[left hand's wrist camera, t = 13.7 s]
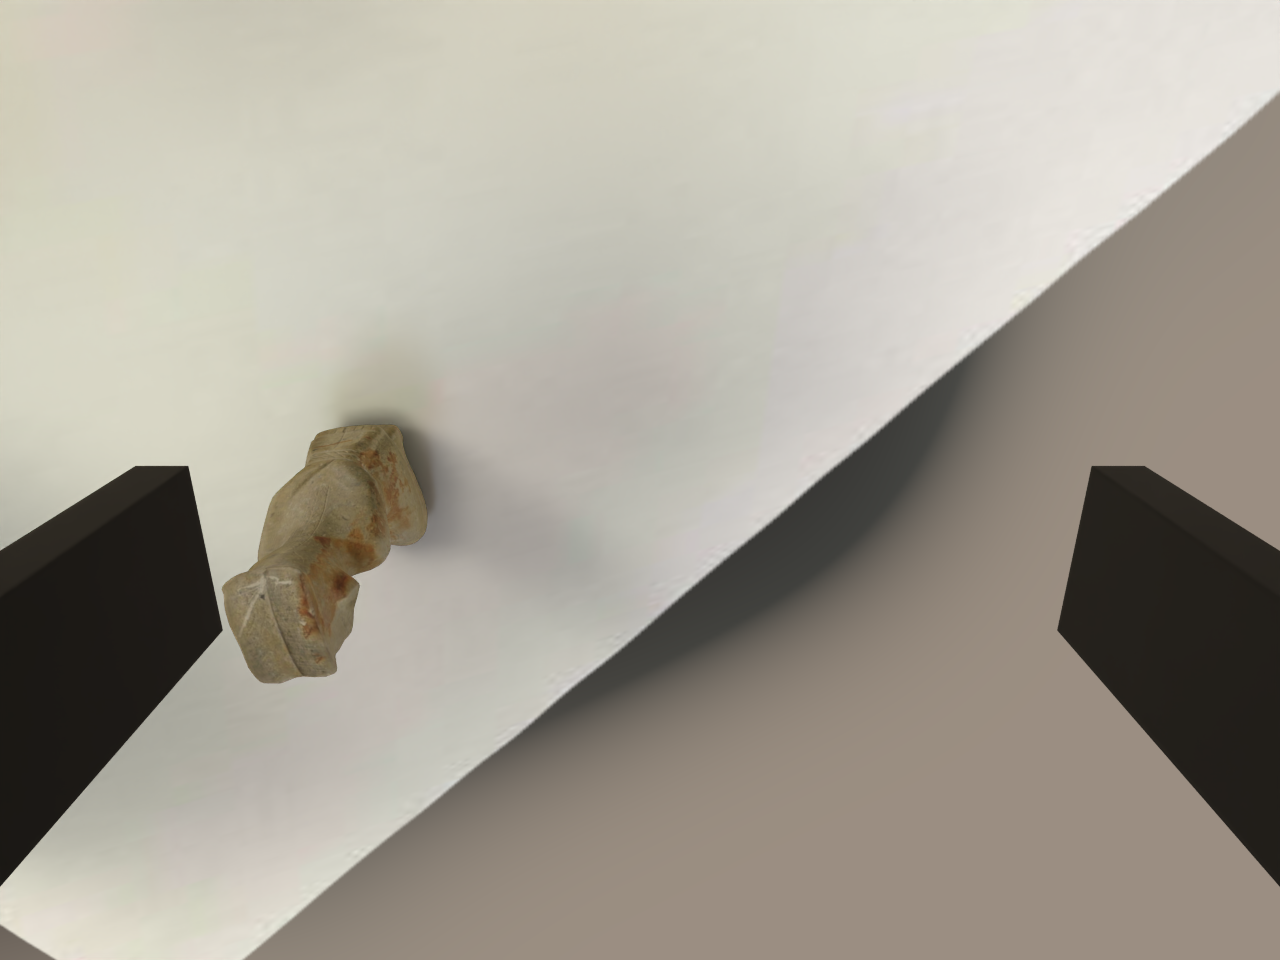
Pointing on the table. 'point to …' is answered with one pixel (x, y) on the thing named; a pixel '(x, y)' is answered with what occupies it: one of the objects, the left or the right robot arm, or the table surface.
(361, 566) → the sculpture
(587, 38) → the table surface
